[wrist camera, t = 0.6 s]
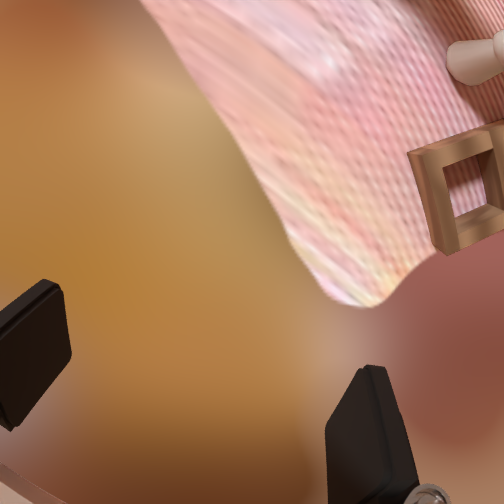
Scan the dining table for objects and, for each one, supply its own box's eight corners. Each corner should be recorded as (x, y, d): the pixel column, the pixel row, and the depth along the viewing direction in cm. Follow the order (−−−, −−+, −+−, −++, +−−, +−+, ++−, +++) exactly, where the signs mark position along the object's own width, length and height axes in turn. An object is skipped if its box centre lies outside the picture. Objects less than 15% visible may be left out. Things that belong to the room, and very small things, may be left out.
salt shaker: (437, 78, 28) (498, 61, 16) (439, 38, 26) (495, 9, 14) (475, 94, 28) (539, 87, 16) (476, 55, 26) (537, 37, 14)
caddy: (532, 109, 26) (552, 109, 22) (548, 187, 30) (566, 194, 26) (406, 152, 32) (421, 155, 28) (432, 243, 36) (446, 256, 31)
